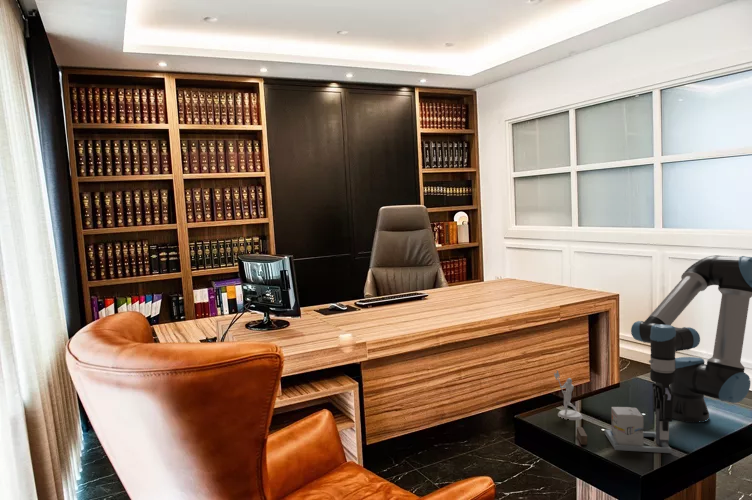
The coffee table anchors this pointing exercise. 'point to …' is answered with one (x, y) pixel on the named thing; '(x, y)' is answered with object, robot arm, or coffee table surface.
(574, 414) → the figurine
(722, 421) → the coffee table surface
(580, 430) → the lane end block
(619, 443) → the ink box
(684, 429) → the coffee table surface
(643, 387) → the coffee table surface
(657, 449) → the sled
